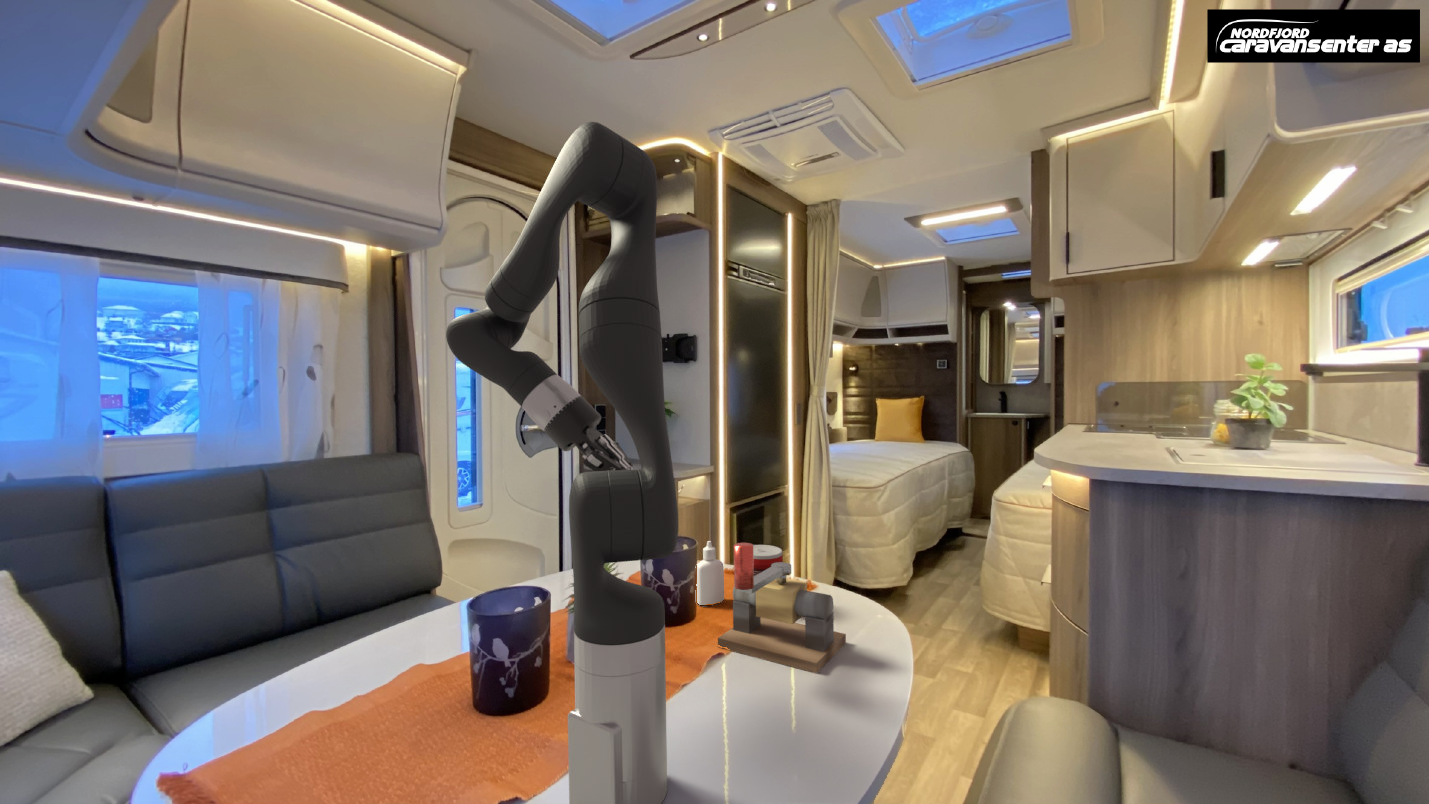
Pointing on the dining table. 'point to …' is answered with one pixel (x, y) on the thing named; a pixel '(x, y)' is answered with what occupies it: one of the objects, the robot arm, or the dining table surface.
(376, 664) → the dining table surface
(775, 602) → the valve stand
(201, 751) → the dining table surface
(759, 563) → the canned food
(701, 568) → the eye dropper bottle
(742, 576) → the valve lever
